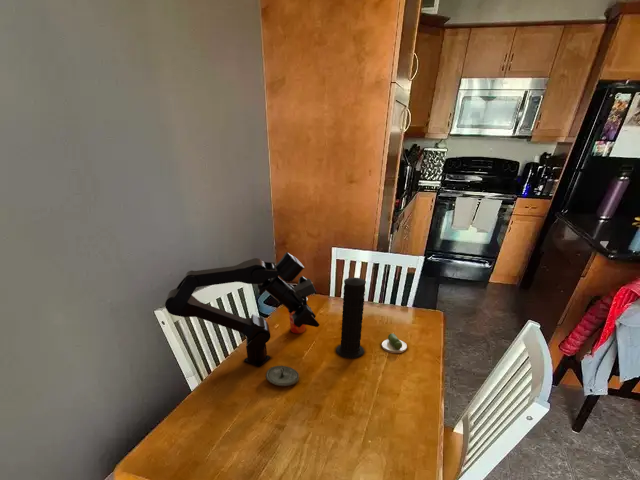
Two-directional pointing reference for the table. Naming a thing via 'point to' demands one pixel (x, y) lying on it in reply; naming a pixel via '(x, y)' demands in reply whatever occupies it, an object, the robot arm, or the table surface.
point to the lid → (282, 376)
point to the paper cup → (293, 326)
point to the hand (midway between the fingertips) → (316, 321)
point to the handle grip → (352, 318)
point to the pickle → (394, 344)
